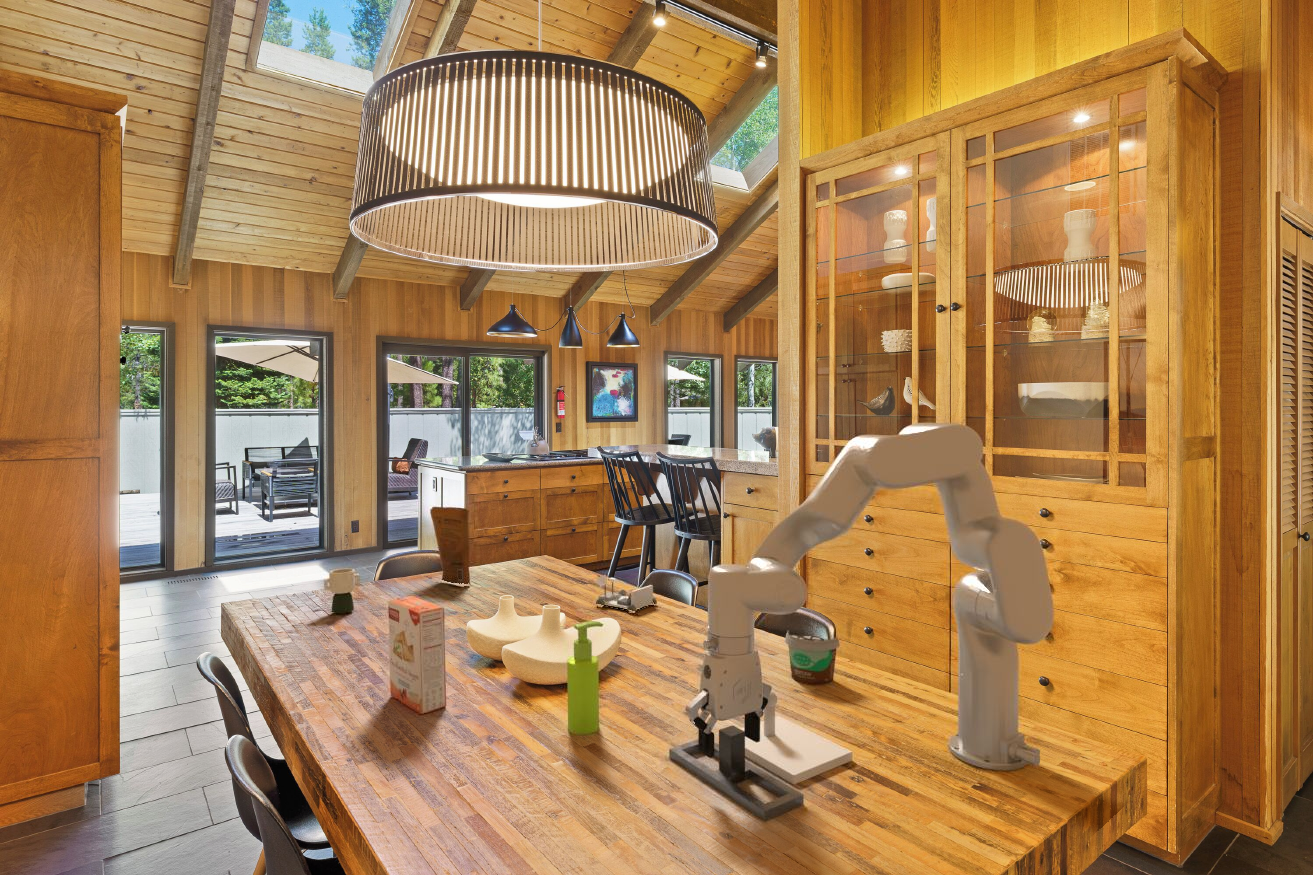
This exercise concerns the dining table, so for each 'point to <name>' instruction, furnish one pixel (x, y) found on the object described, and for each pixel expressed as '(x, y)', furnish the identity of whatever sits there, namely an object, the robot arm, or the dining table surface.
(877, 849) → the dining table surface
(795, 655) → the food container
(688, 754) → the grey frame with handle
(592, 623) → the soap dispenser
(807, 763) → the white pegged base
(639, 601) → the grey tabletop ornament
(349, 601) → the character mug
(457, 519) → the pancake mix bag
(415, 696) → the cracker box
